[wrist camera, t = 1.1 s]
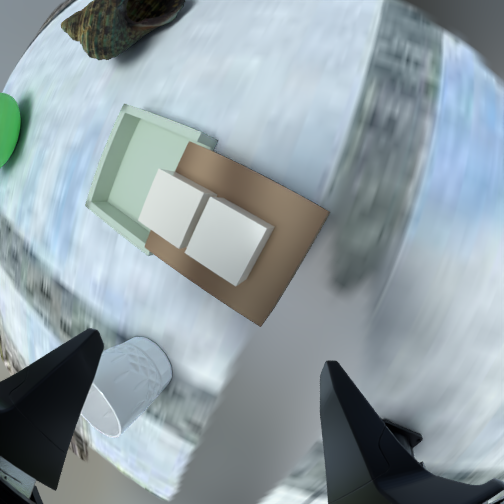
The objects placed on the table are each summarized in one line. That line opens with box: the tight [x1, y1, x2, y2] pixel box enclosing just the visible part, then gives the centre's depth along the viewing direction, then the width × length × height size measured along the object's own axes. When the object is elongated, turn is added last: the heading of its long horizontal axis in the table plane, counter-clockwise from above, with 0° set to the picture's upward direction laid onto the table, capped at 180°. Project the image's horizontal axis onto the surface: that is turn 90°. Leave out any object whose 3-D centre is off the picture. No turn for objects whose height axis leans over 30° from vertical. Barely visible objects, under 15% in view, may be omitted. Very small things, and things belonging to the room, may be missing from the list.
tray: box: [85, 104, 218, 256], centre depth 23 cm, size 10×11×3 cm
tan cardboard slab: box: [145, 141, 330, 327], centre depth 20 cm, size 11×9×4 cm
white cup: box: [80, 337, 172, 438], centre depth 23 cm, size 8×8×10 cm
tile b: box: [138, 169, 217, 249], centre depth 18 cm, size 4×4×2 cm
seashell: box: [61, 0, 185, 60], centre depth 18 cm, size 11×11×10 cm
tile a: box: [185, 197, 274, 286], centre depth 17 cm, size 4×4×2 cm
